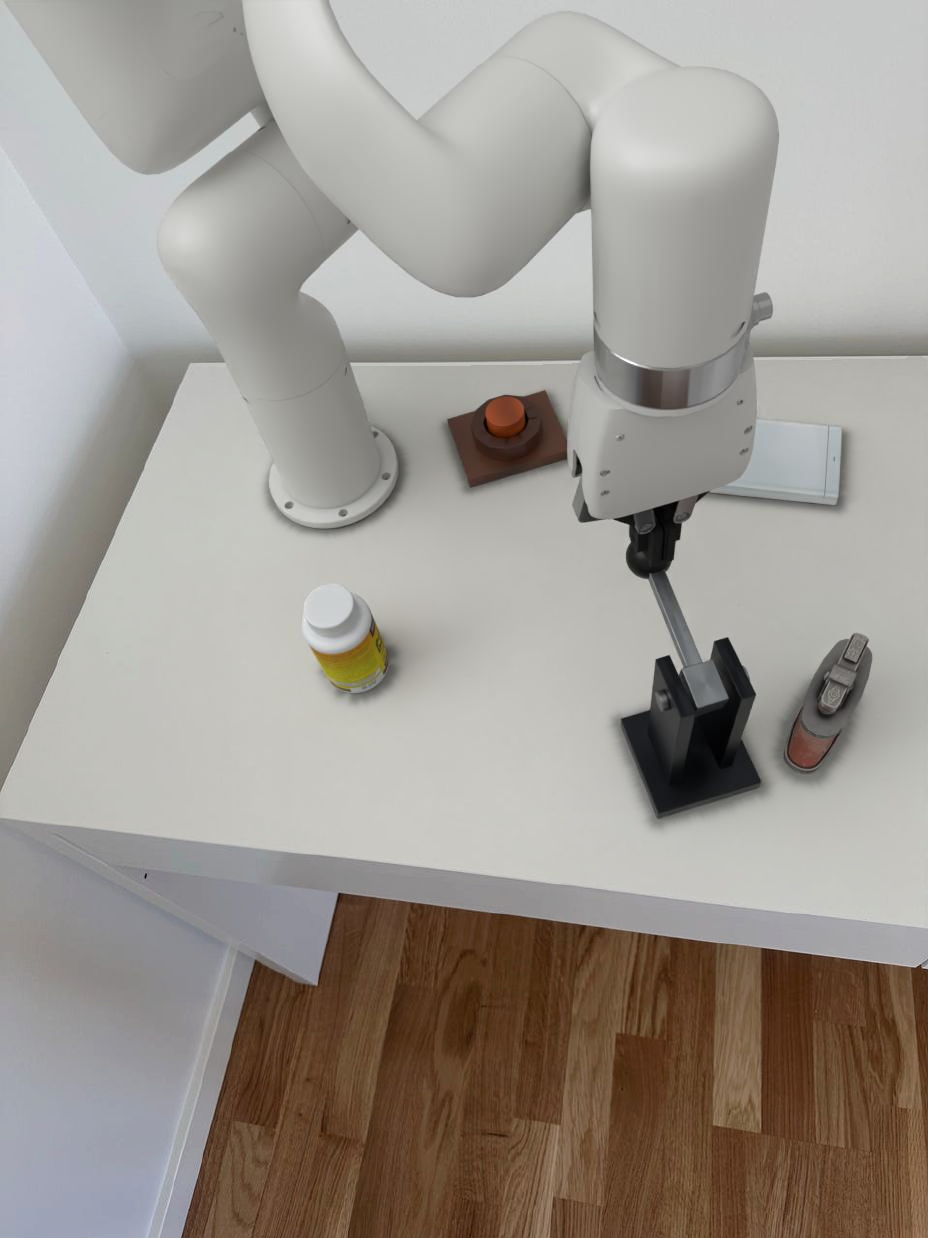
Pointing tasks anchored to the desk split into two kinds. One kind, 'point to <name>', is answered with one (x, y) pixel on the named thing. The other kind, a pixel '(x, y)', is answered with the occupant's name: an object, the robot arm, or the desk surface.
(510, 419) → the button
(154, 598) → the desk surface
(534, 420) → the button block
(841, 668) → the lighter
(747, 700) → the bracket
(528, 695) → the desk surface
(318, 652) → the supplement bottle
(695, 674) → the lever
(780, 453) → the hard drive
